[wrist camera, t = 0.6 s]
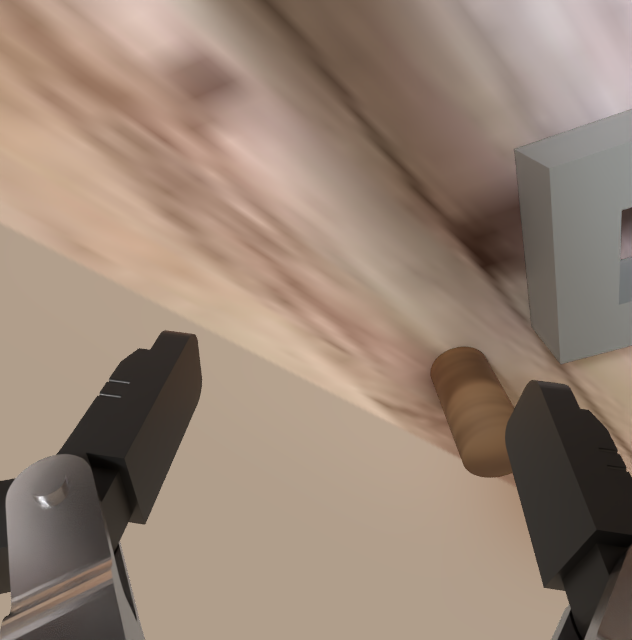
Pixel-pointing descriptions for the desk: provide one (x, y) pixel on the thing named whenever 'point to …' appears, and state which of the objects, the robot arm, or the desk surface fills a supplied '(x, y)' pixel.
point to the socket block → (578, 237)
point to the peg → (474, 409)
